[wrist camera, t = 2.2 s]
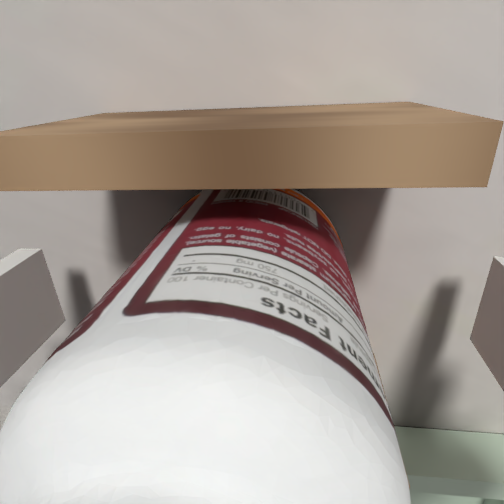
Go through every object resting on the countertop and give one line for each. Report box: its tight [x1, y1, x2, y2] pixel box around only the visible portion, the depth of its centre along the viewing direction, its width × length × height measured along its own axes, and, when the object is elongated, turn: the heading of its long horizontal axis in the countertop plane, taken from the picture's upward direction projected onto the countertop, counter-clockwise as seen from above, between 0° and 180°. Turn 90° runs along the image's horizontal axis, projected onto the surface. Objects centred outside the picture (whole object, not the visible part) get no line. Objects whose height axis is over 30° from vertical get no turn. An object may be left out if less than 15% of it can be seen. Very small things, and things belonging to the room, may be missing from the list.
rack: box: [0, 102, 504, 490], centre depth 10 cm, size 9×10×5 cm
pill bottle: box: [0, 189, 411, 504], centre depth 8 cm, size 6×6×11 cm
